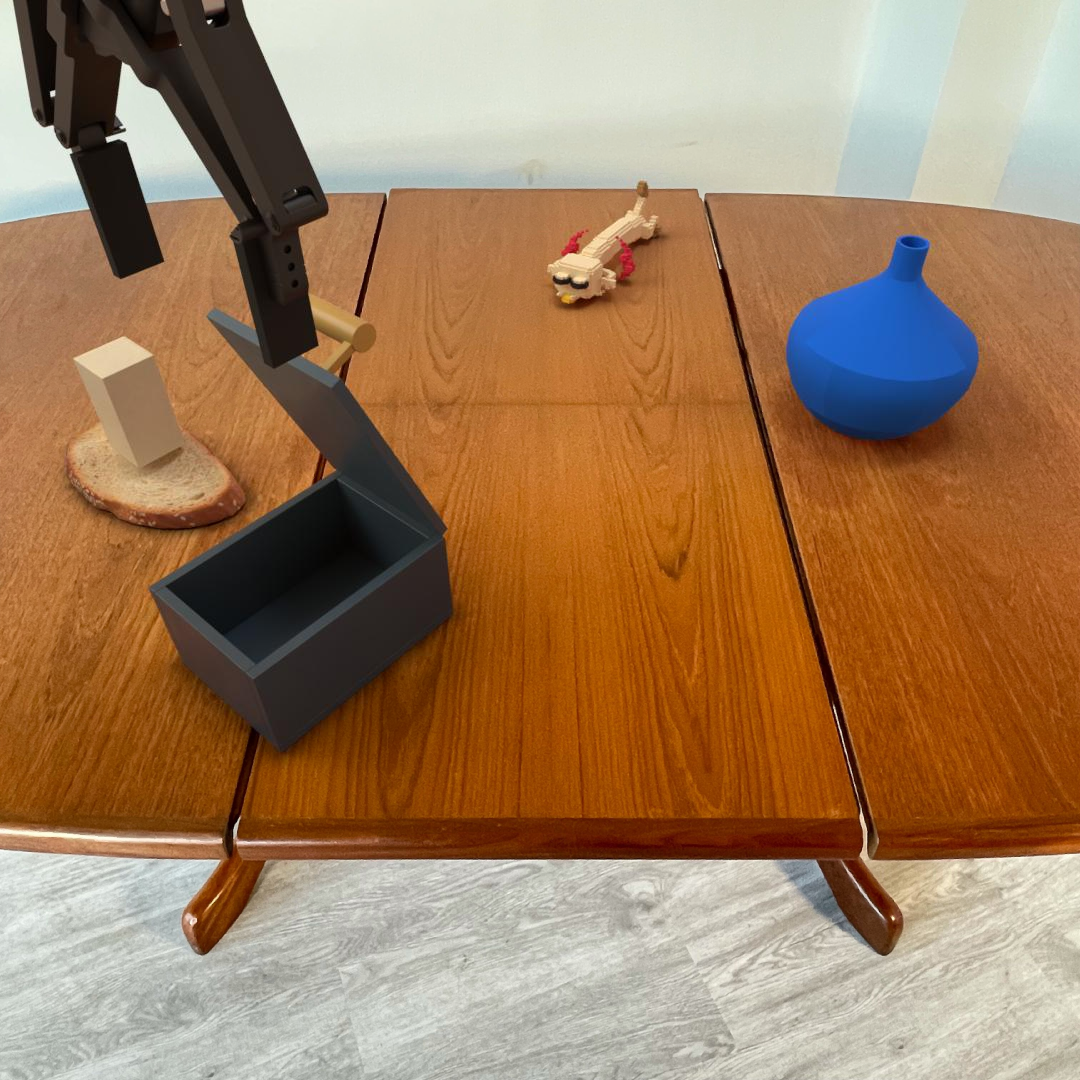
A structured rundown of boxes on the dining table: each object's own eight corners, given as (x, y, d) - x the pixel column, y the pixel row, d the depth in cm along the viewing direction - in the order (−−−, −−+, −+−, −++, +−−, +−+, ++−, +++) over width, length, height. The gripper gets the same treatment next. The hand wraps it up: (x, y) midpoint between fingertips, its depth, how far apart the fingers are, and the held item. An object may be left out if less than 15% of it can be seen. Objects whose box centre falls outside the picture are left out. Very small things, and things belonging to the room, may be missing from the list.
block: (139, 468, 82) (101, 378, 75) (111, 447, 85) (72, 358, 78) (185, 444, 85) (153, 354, 78) (157, 423, 87) (124, 335, 81)
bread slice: (243, 523, 82) (233, 493, 79) (40, 544, 80) (23, 514, 77) (257, 411, 95) (249, 382, 92) (83, 427, 93) (70, 398, 90)
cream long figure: (609, 233, 128) (528, 295, 111) (614, 171, 123) (530, 226, 105) (673, 247, 125) (599, 314, 108) (681, 184, 119) (606, 243, 102)
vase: (763, 446, 90) (801, 272, 77) (784, 354, 102) (820, 191, 89) (952, 482, 86) (1027, 305, 72) (950, 381, 98) (1014, 214, 85)
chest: (281, 753, 64) (253, 679, 58) (182, 662, 70) (147, 586, 64) (453, 614, 74) (445, 537, 68) (353, 544, 80) (337, 468, 74)
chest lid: (331, 388, 51) (395, 318, 53) (205, 315, 57) (265, 254, 59) (441, 537, 67) (488, 480, 68) (333, 468, 73) (378, 417, 75)
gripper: (368, -227, 27) (429, 364, 42) (-7, -250, 39) (144, 218, 54) (150, -213, 23) (303, 436, 38) (-195, -243, 35) (24, 261, 49)
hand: (210, 309), depth 46 cm, fingers open, 13 cm apart
